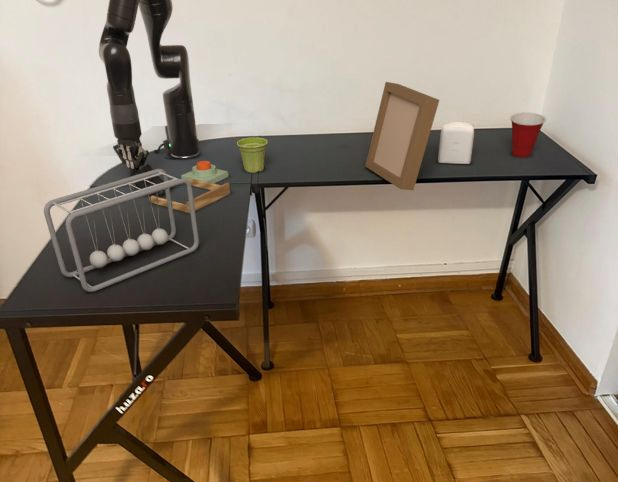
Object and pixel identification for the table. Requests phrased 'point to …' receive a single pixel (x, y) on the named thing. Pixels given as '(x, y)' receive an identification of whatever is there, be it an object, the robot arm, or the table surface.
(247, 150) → the plant pot
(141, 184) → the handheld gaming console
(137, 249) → the newton's cradle
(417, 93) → the photo frame
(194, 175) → the switch box
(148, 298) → the table surface
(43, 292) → the table surface
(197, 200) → the wooden frame
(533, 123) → the plastic cup
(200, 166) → the power button
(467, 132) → the photo printer
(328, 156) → the table surface
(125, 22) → the robot arm
